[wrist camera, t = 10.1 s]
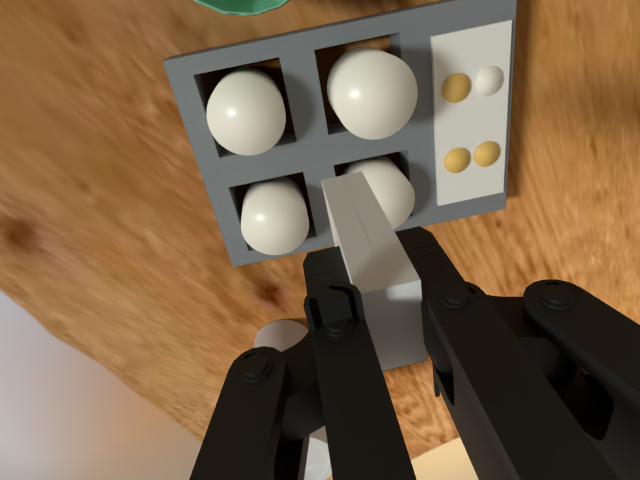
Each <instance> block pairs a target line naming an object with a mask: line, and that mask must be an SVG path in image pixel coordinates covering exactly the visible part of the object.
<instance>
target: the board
mask: <svg viewBox="0 0 640 480" xmlns="http://www.w3.org/2000/svg"><path fill="white" fill-rule="evenodd" d="M516 5H517V0H440V1H436V2H431V3H426V4H421V5H416V6H411V7H407V8H402V9H397V10H392V11H387V12H383V13H378V14H373V15H368V16H363V17H358V18H354V19H349V20H344V21H339V22H334V23H329V24H325V25H320V26H315V27H310V28H305V29H300V30H296V31H291V32H286V33H281V34H276V35H272V36H267V37H262V38H257V39H252V40H247V41H243V42H238V43H233V44H228V45H223V46H218V47H214V48H209V49H204V50H199V51H194V52H189V53H185V54H180V55H175V56H170V57H169V58H167V59H165V60H164V61H163V64H164V67H165V70H166V73H167V76H168V79H169V82H170V85H171V88H172V91H173V93H174V96H175V99H176V102H177V105H178V108H179V111H180V114H181V117H182V120H183V123H184V126H185V129H186V131H187V134H188V137H189V140H190V143H191V146H192V149H193V152H194V155H195V158H196V161H197V164H198V166H199V169H200V172H201V175H202V178H203V181H204V184H205V187H206V190H207V193H208V196H209V199H210V201H211V204H212V207H213V210H214V213H215V216H216V219H217V222H218V225H219V228H220V231H221V234H222V237H223V239H224V242H225V245H226V248H227V251H228V254H229V257H230V260H231V263H232V266H233V267H235V266H240V265H245V264H249V263H254V262H259V261H263V260H268V259H273V258H277V257H282V256H287V255H291V254H296V253H301V252H305V251H310V250H315V249H319V248H324V247H329V246H333V245H335V244H334V240H333V235H332V230H331V225H330V220H329V216H328V211H327V206H326V201H325V196H324V192H323V187H322V182H321V180H324V179H329V178H333V177H336V176H335V170H334V165H337V164H342V163H347V162H351V161H356V160H361V159H365V158H370V157H375V156H380V155H384V154H389V153H394V152H398V151H399V155H400V167H401V172H402V173H403V175H404V176H405V177H406V178H407V180H408V181H409V182H410V184H411V185H412V187H413V190H414V194H415V203H414V207H413V210H412V212H411V214H410V216H409V217H408V219H407V220H406V221H405V222H404V223H403V224H402V225H400V226H399V227H397V228H396V229H394V232H396V231H400V230H405V229H409V228H413V227H418V226H420V227H422V226H427V225H431V224H436V223H441V222H445V221H450V220H455V219H459V218H464V217H469V216H474V215H478V214H483V213H488V212H492V211H497V210H502V209H505V208H506V190H507V171H508V153H509V134H510V116H511V97H512V79H513V61H514V42H515V24H516ZM388 34H389V35H390V47H391V55H394V56H396V57H398V58H400V59H401V60H402V61H404V62H405V63H406V64H407V65H408V66H409V68H410V69H411V71H412V72H413V74H414V76H415V79H416V83H417V89H418V96H417V102H416V106H415V109H414V112H413V114H412V116H411V117H410V119H409V120H408V122H407V123H406V124H405V125H404V126H403V127H402V128H401V129H400V130H399V131H397V132H396V133H394V134H393V135H391V136H388V137H386V138H382V139H377V140H369V139H364V138H360V137H358V136H356V135H354V134H352V133H351V132H350V131H349V130H348V129H347V128H346V127H345V126H344V125H343V123H342V122H339V123H334V124H329V125H327V123H326V117H325V111H324V105H323V99H322V93H321V87H320V82H319V76H318V70H317V64H316V58H315V52H314V50H316V49H321V48H326V47H331V46H335V45H340V44H345V43H350V42H355V41H359V40H364V39H369V38H374V37H379V36H384V35H388ZM278 57H279V60H280V64H281V69H282V74H283V79H284V83H285V88H286V93H287V98H288V102H289V107H290V112H291V117H292V122H293V126H294V131H295V132H291V133H286V134H282V136H281V138H280V139H279V141H278V142H277V143H276V144H275V145H274V146H273V147H272V148H271V149H269V150H267V151H266V152H263V153H261V154H258V155H251V156H246V155H239V154H236V153H233V152H231V151H229V150H227V149H226V148H224V147H222V145H220V144H219V143H218V142H217V140H216V139H215V138H214V136H213V135H212V133H211V131H210V129H209V126H208V122H207V105H208V98H207V95H206V92H205V88H204V85H203V82H202V78H201V75H200V74H201V73H206V72H210V71H215V70H220V69H225V68H230V67H234V66H239V65H244V64H249V63H254V62H258V61H263V60H268V59H273V58H278ZM299 172H303V174H304V179H305V183H306V188H307V193H308V198H309V203H310V207H311V212H312V217H313V222H310V223H309V230H308V234H307V236H306V238H305V240H304V241H303V243H302V244H301V245H300V246H299V247H297V248H296V249H295V250H293V251H291V252H289V253H286V254H282V255H268V254H264V253H261V252H258V251H257V250H255V249H253V248H252V247H251V246H250V245H249V244H248V243H247V242H246V240H245V239H244V237H243V234H242V231H241V217H242V210H241V207H240V203H239V200H238V197H237V193H236V190H235V187H234V186H238V185H243V184H247V183H252V182H257V181H261V180H266V179H271V178H276V177H280V176H285V175H290V174H295V173H299Z"/></svg>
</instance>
